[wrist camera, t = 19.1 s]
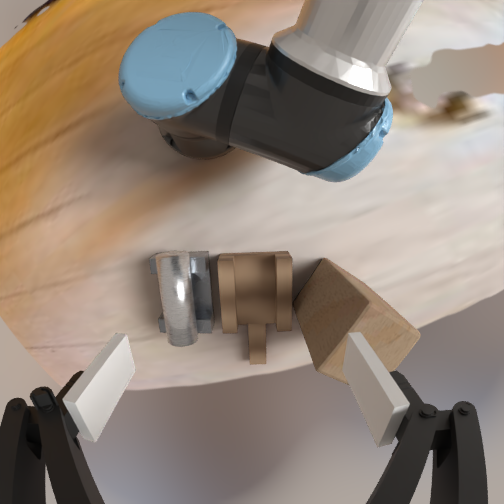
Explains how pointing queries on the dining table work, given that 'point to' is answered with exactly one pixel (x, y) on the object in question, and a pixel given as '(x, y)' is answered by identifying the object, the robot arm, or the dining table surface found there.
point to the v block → (196, 291)
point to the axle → (177, 297)
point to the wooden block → (349, 320)
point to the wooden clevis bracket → (255, 295)
